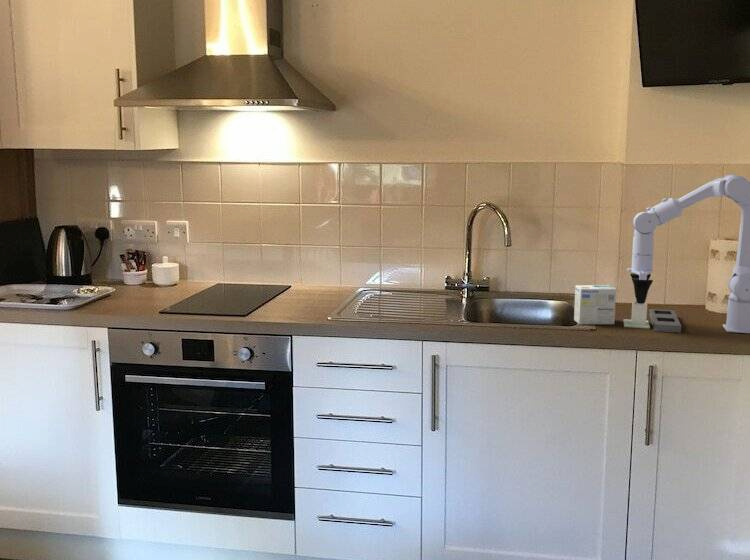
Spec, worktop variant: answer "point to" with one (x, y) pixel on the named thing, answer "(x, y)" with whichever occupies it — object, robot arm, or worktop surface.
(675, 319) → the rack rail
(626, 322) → the mat
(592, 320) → the light bulb box
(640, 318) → the white block
